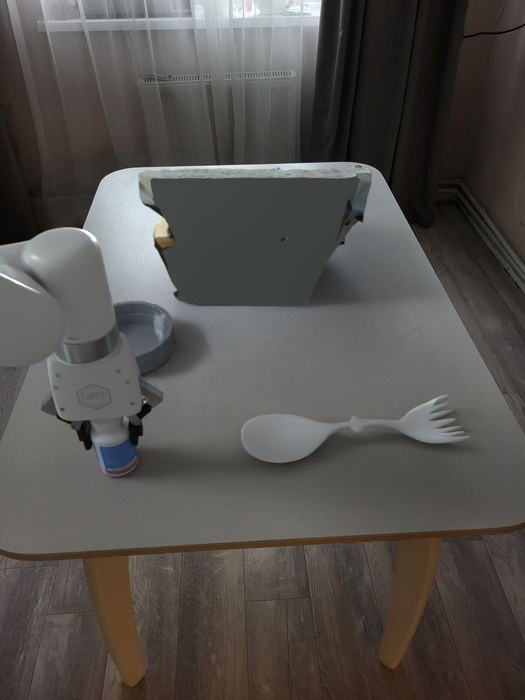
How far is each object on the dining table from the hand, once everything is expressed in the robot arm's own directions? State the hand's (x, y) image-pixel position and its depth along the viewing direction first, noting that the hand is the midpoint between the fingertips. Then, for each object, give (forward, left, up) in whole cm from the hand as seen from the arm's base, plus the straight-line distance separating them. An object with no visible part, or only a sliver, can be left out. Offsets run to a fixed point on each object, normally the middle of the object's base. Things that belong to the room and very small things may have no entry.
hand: (113, 439), depth 75 cm
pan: (+11, +23, -5) cm, 25 cm away
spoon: (+30, -14, -5) cm, 34 cm away
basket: (+43, +33, -5) cm, 54 cm away
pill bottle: (0, 0, -5) cm, 5 cm away
